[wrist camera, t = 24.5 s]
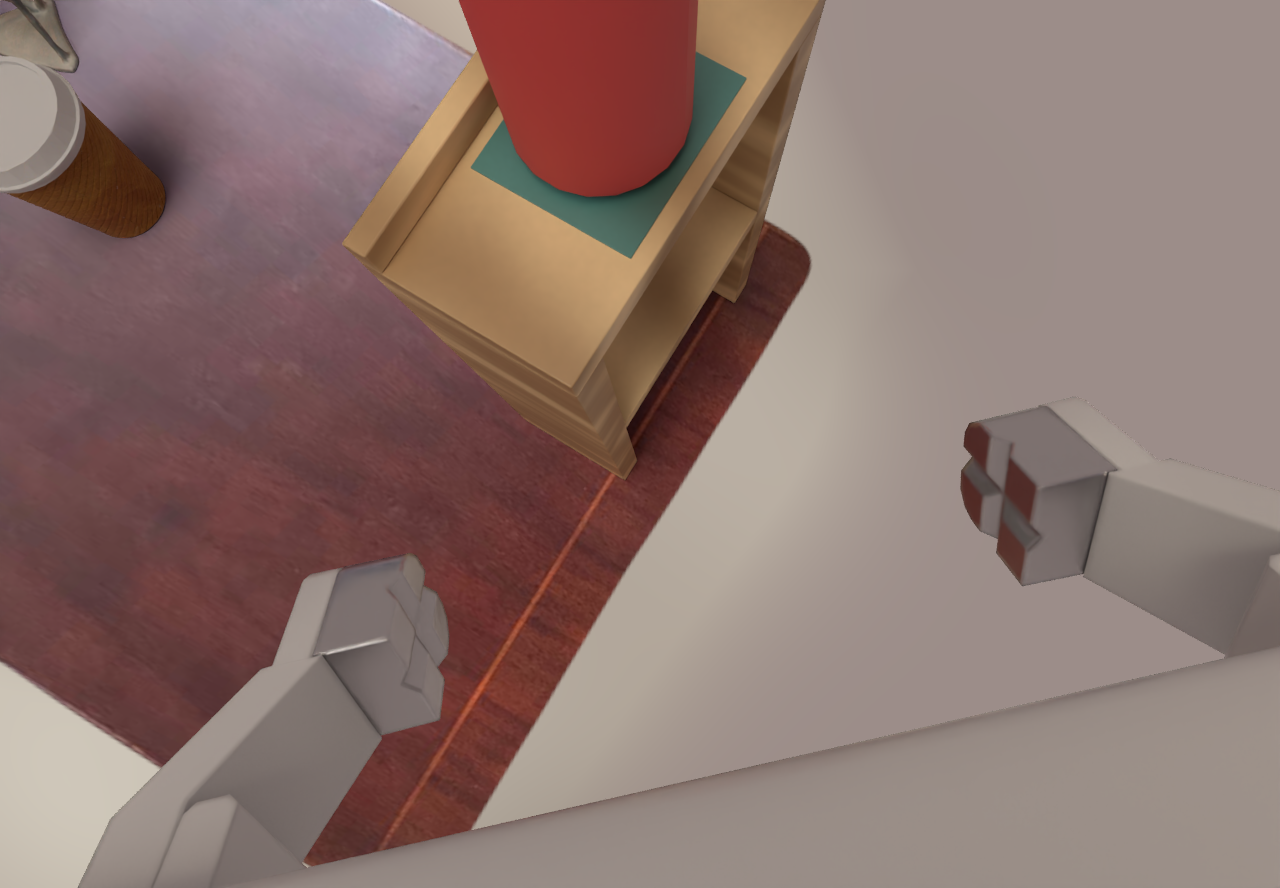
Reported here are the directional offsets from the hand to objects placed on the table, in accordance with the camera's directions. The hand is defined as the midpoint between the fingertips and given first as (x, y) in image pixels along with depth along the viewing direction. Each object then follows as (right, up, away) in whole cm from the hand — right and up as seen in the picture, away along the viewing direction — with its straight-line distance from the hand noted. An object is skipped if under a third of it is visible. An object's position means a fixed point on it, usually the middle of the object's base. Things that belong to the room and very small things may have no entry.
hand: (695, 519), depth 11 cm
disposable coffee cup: (-43, +21, +49) cm, 69 cm away
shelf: (-1, +8, +45) cm, 46 cm away
